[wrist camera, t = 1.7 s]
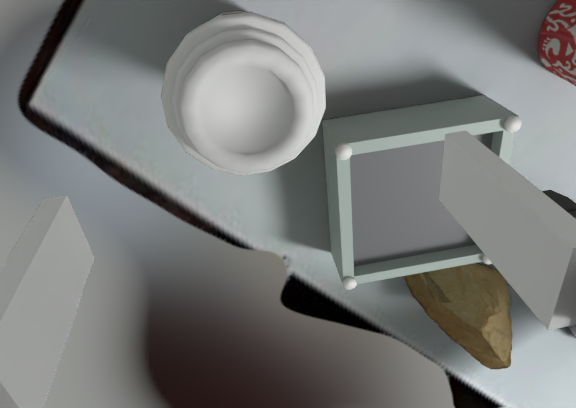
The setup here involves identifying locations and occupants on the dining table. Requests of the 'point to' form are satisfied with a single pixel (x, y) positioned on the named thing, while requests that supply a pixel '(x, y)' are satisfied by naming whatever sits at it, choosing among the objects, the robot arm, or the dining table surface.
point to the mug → (559, 40)
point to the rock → (469, 309)
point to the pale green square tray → (402, 187)
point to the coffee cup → (243, 93)
